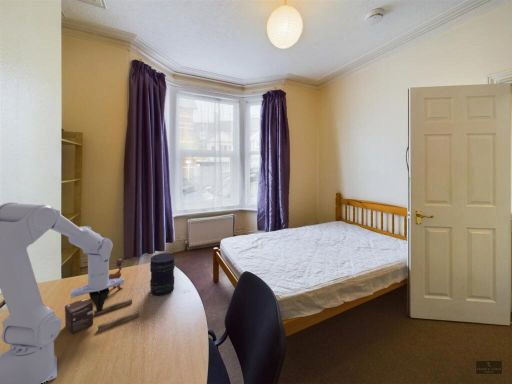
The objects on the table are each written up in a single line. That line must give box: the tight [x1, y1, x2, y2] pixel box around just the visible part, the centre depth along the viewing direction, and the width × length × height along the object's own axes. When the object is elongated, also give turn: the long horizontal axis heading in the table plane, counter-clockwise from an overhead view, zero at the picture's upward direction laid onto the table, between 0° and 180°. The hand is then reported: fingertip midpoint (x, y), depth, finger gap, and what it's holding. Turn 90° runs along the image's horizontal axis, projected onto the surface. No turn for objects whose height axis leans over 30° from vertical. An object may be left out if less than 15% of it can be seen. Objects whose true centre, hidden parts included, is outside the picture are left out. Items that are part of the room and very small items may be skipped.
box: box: [64, 297, 94, 335], centre depth 73 cm, size 6×6×7 cm
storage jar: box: [149, 252, 176, 297], centre depth 96 cm, size 10×10×15 cm
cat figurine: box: [88, 256, 125, 302], centre depth 90 cm, size 18×7×14 cm, turn 158°
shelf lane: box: [93, 298, 140, 332], centre depth 79 cm, size 12×11×2 cm
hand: (99, 310), depth 75 cm, fingers closed
